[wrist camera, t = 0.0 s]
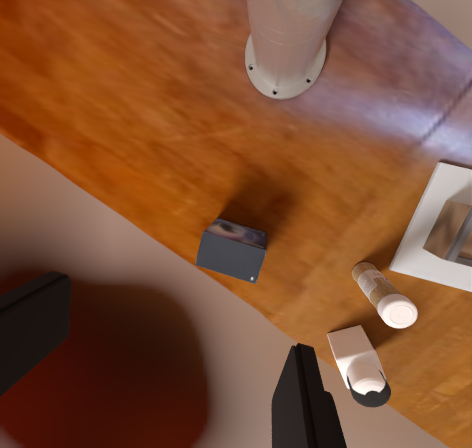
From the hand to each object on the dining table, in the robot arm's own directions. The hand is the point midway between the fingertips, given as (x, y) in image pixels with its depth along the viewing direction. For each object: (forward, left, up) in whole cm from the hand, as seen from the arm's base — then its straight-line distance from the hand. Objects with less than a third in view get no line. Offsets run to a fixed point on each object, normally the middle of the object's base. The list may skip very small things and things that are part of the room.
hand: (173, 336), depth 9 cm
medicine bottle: (+24, +28, -37) cm, 52 cm away
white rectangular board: (-4, +37, -37) cm, 52 cm away
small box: (+8, 0, -37) cm, 38 cm away
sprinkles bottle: (+8, +25, -37) cm, 45 cm away
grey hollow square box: (-4, +37, -37) cm, 52 cm away
